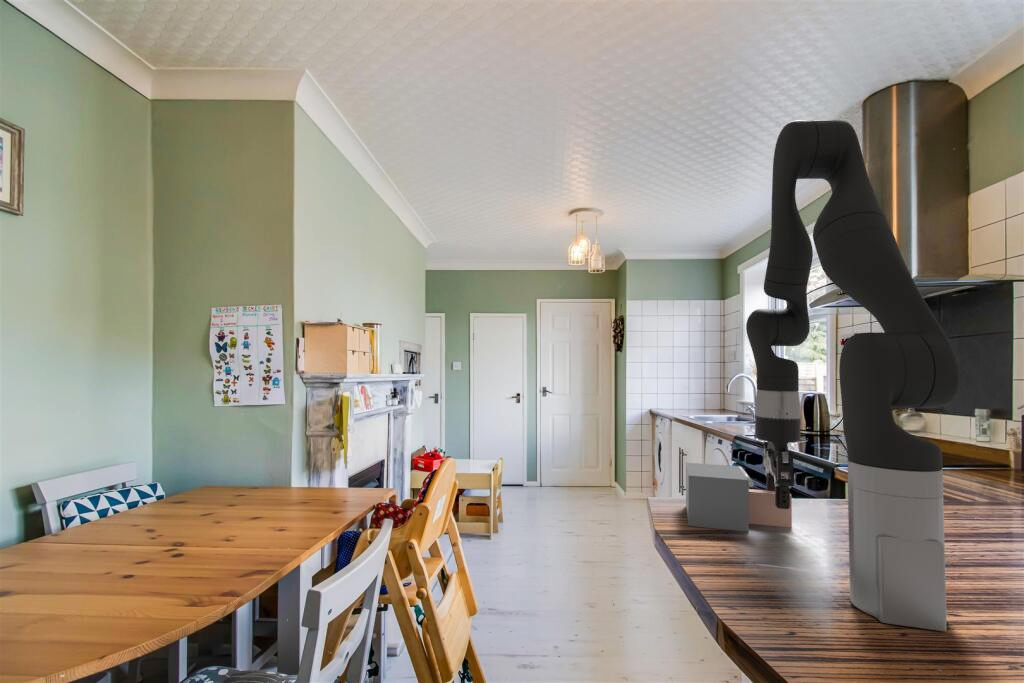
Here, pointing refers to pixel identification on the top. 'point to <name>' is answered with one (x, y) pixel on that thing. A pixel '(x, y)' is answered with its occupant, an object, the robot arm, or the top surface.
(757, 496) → the tan rectangular block
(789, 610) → the top surface
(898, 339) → the robot arm
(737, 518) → the grey bevelled box
